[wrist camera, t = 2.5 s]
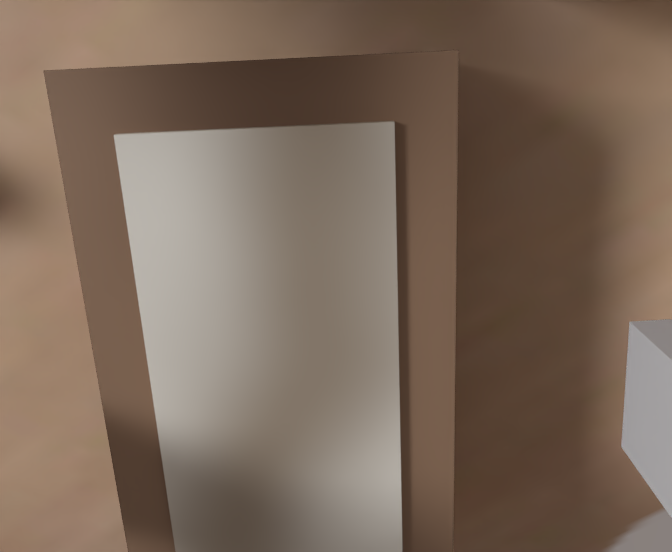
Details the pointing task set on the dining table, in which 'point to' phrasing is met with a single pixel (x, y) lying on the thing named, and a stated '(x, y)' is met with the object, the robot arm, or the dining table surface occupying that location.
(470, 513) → the dining table surface
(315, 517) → the frame
